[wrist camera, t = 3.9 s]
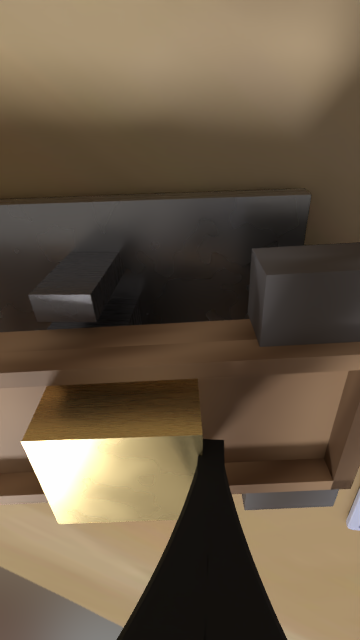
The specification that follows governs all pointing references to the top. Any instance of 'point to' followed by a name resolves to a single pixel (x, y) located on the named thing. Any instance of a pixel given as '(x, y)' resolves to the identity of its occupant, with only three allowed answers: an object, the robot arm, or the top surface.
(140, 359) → the brown wooden tray
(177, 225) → the pivot stand
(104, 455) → the yellow block
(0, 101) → the top surface
